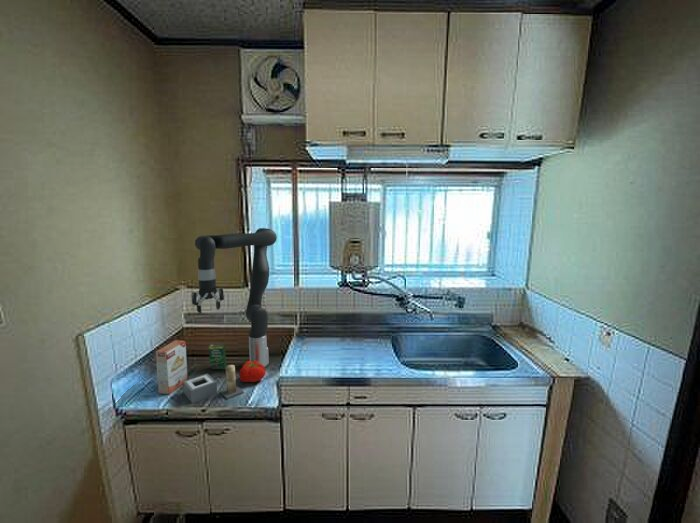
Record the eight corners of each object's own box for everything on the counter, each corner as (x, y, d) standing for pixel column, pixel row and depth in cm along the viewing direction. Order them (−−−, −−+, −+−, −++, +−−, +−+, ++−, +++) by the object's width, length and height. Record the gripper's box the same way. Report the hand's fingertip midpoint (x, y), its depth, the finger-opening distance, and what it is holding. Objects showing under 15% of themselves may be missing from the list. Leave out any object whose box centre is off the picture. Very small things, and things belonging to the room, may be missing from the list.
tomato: (258, 388, 159) (257, 371, 157) (234, 385, 161) (233, 368, 160) (270, 374, 172) (270, 358, 171) (248, 372, 175) (248, 356, 173)
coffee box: (209, 369, 177) (208, 346, 175) (211, 366, 180) (210, 344, 178) (224, 369, 177) (223, 346, 175) (226, 367, 180) (225, 344, 177)
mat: (236, 386, 160) (236, 384, 160) (243, 392, 155) (243, 391, 155) (219, 392, 155) (219, 390, 155) (227, 399, 149) (227, 397, 149)
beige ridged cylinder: (233, 387, 158) (232, 364, 156) (237, 391, 155) (236, 366, 153) (225, 391, 155) (224, 366, 153) (229, 394, 152) (227, 369, 150)
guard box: (207, 384, 161) (207, 373, 161) (217, 394, 154) (216, 382, 153) (183, 393, 154) (183, 381, 153) (192, 403, 146) (191, 390, 145)
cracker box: (170, 395, 152) (166, 352, 149) (158, 394, 153) (154, 351, 150) (188, 379, 166) (185, 340, 163) (177, 378, 167) (174, 339, 164)
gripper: (218, 275, 165) (220, 306, 168) (188, 278, 155) (190, 312, 158) (225, 277, 160) (226, 309, 162) (194, 281, 150) (196, 316, 152)
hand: (209, 310), depth 160 cm, fingers open, 8 cm apart
